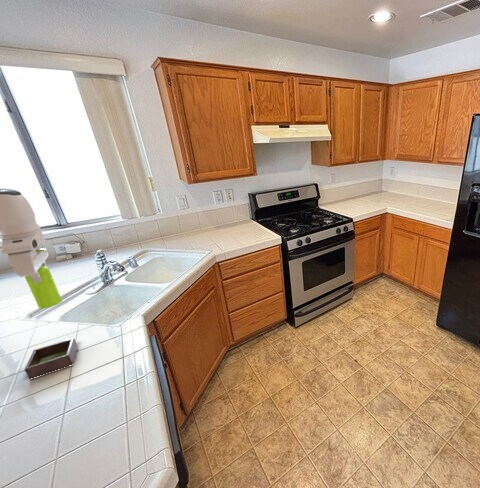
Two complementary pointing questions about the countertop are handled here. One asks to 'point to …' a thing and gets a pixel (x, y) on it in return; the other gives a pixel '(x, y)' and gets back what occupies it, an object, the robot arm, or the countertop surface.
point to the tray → (51, 358)
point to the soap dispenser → (44, 288)
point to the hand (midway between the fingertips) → (41, 277)
